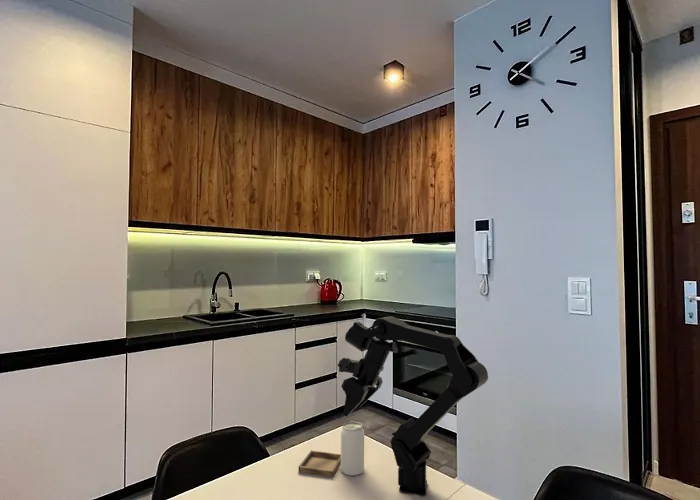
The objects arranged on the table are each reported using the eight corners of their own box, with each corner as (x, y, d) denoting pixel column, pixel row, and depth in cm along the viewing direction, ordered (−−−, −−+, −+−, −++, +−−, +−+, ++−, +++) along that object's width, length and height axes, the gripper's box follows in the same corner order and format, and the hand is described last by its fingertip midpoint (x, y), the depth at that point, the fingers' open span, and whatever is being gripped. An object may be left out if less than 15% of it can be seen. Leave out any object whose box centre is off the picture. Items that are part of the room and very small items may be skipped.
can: (362, 477, 101) (362, 431, 102) (338, 475, 102) (338, 429, 103) (365, 465, 107) (366, 422, 108) (343, 463, 109) (343, 420, 109)
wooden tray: (342, 459, 110) (342, 454, 111) (332, 477, 101) (332, 471, 101) (311, 455, 113) (311, 450, 113) (298, 472, 103) (298, 466, 104)
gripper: (360, 344, 117) (338, 390, 116) (337, 347, 99) (312, 402, 99) (392, 361, 112) (370, 410, 112) (374, 369, 95) (348, 426, 95)
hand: (350, 411), depth 105 cm, fingers open, 9 cm apart
